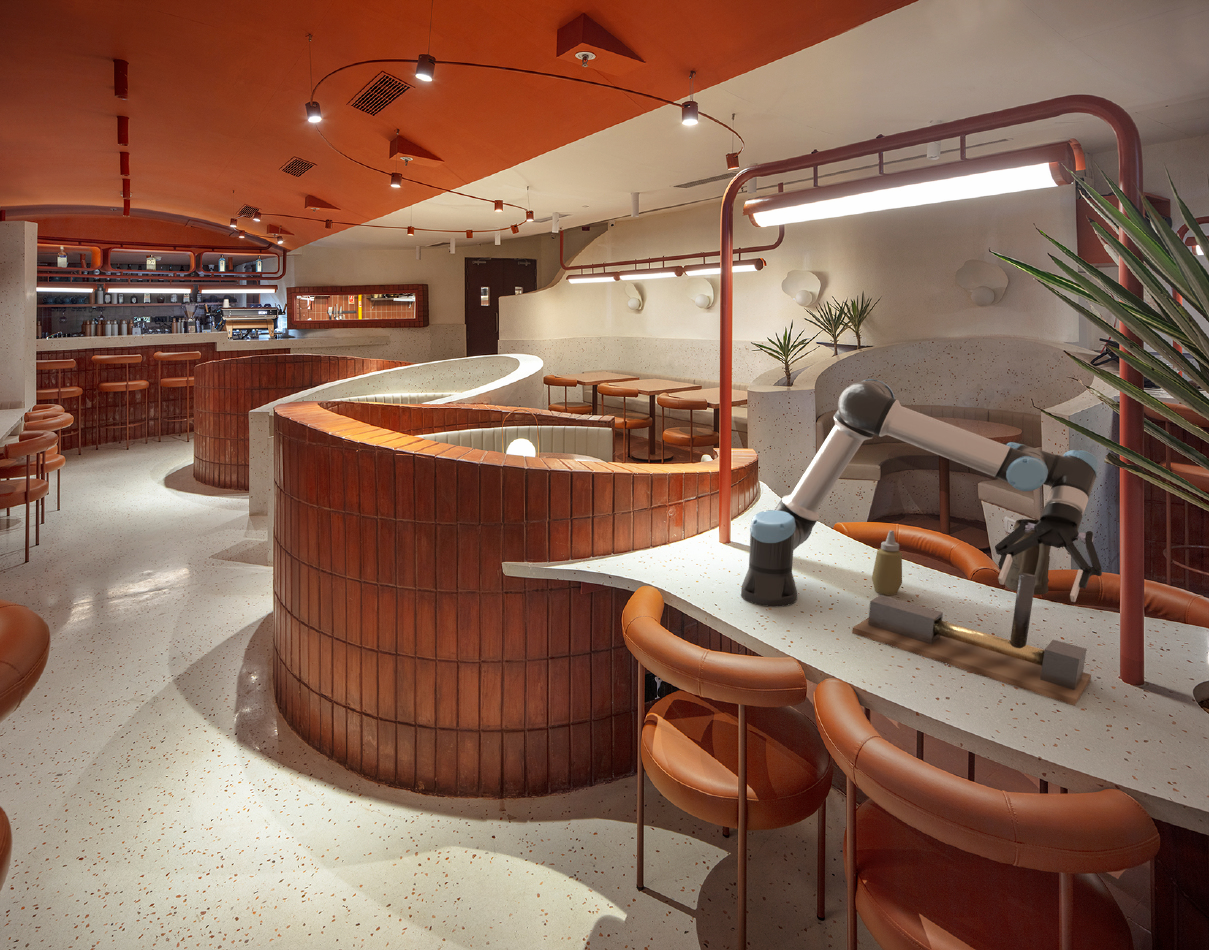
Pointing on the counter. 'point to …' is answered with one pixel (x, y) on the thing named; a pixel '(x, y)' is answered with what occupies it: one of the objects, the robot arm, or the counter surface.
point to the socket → (1063, 664)
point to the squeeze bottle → (888, 567)
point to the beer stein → (1030, 564)
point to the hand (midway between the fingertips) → (1035, 590)
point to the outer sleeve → (904, 618)
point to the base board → (978, 662)
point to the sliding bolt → (1018, 634)
